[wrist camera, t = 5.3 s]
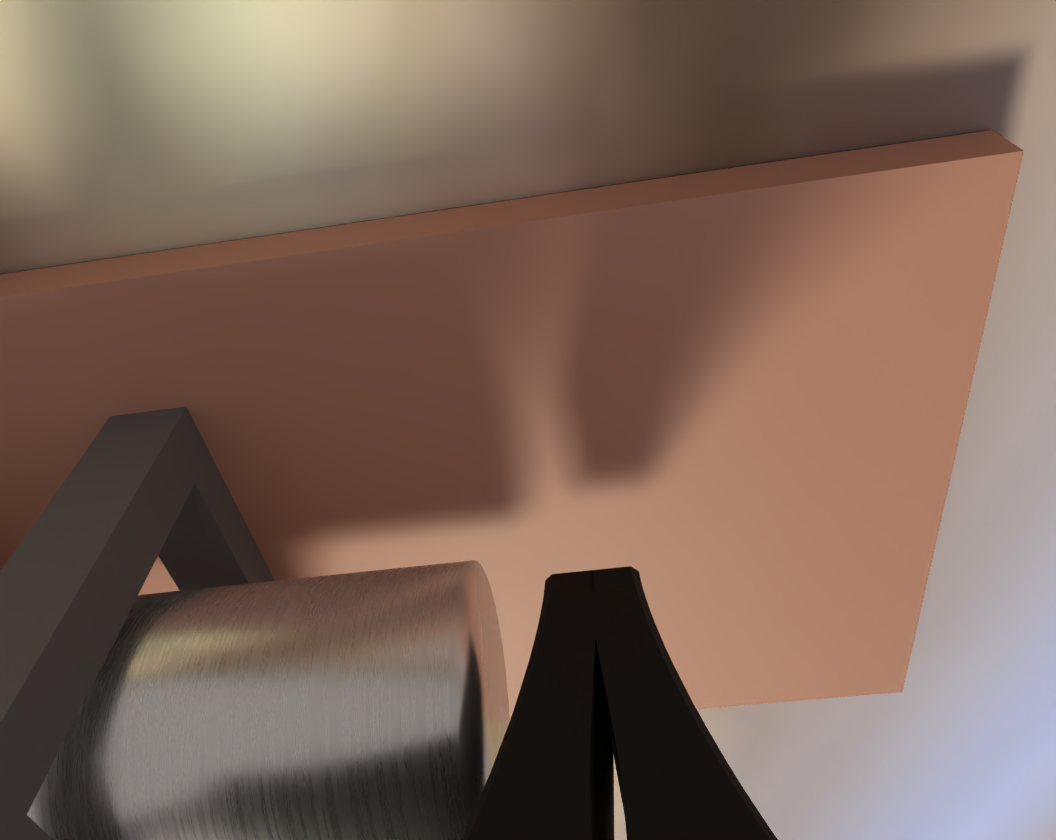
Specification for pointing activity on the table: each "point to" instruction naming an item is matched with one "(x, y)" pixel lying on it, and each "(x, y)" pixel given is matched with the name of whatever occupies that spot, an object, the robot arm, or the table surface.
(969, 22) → the table surface
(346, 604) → the tube
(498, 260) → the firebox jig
